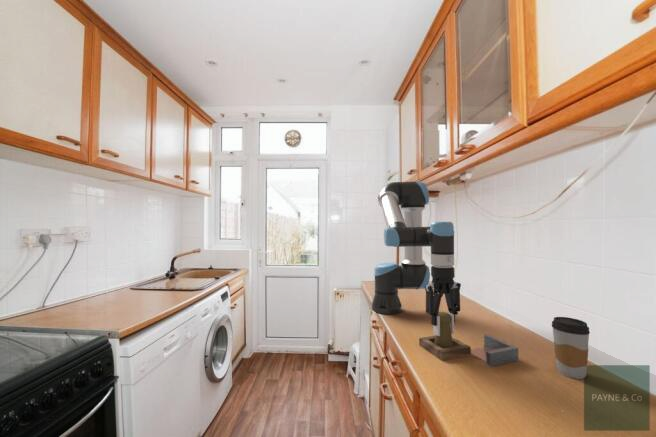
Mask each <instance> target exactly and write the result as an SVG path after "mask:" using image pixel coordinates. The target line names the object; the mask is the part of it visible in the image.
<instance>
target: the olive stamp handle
mask: <svg viewBox="0 0 656 437" xmlns="http://www.w3.org/2000/svg"><path fill="white" fill-rule="evenodd" d="M438 316H440V336H437V335H435V334H434V336H435V344H436V345H437V346H439V347H441V348H442V349H443V348H449V347H453V341H452V337H453V336H452V335H453V334H452V333H451V328H450V323H451V320H452V318H451V315H450V314H448V313H447V312H445V311H439V312H438Z"/></svg>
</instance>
